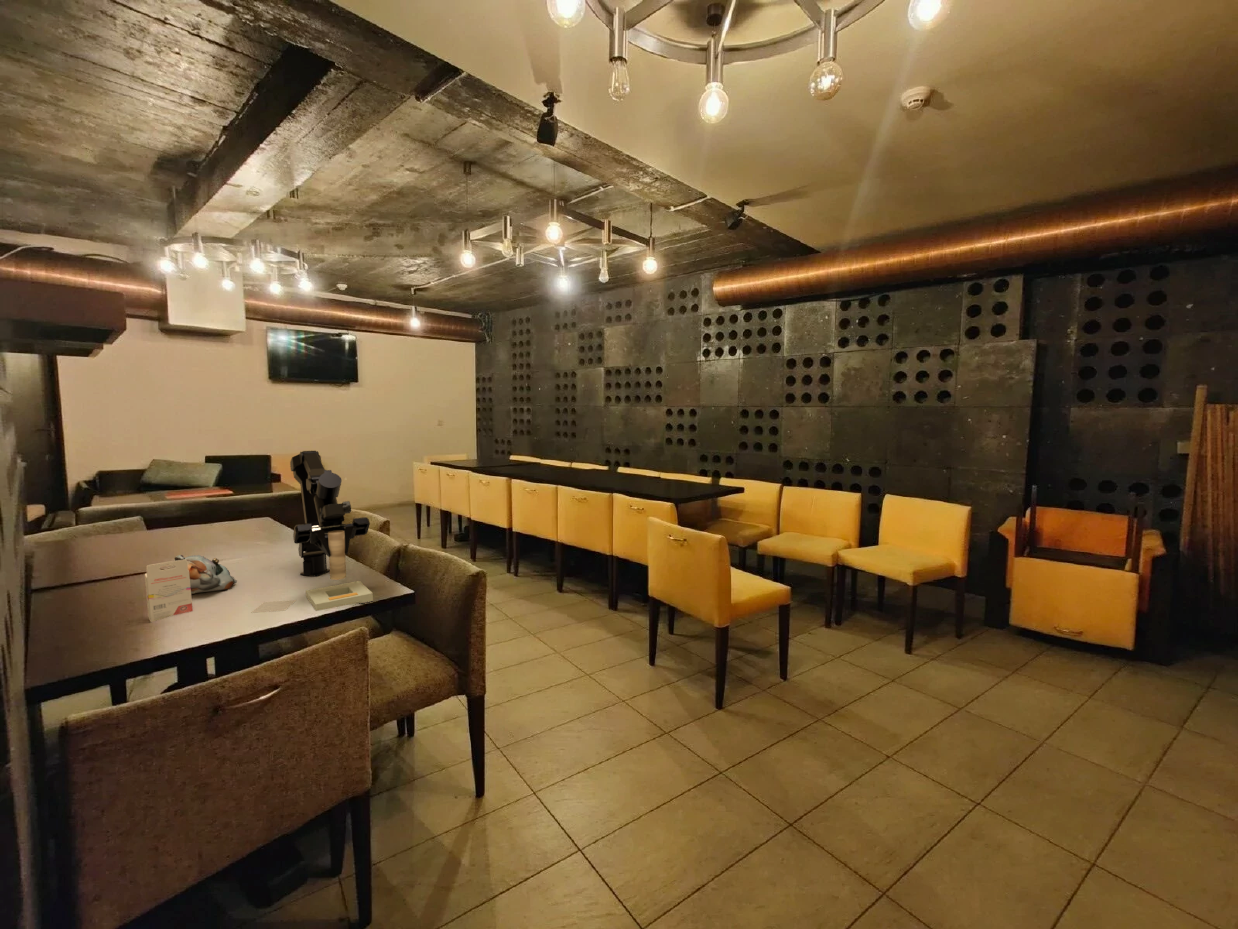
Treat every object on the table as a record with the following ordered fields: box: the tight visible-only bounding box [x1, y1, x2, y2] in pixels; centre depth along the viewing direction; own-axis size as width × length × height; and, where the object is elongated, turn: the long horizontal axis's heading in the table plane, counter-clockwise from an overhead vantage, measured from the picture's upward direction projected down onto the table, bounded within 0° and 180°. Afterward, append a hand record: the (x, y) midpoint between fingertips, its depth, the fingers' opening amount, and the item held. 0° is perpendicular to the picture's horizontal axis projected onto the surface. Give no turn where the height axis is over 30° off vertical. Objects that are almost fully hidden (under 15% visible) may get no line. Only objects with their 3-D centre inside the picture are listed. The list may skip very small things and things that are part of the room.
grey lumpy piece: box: [174, 554, 238, 595], centre depth 156 cm, size 15×12×14 cm
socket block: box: [305, 580, 374, 612], centre depth 150 cm, size 14×14×3 cm
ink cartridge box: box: [144, 559, 194, 623], centre depth 138 cm, size 9×5×15 cm, turn 136°
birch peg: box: [328, 530, 347, 581], centre depth 149 cm, size 4×4×13 cm
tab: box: [250, 599, 297, 614], centre depth 144 cm, size 8×8×1 cm
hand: (338, 554), depth 148 cm, fingers closed on birch peg, 4 cm apart
